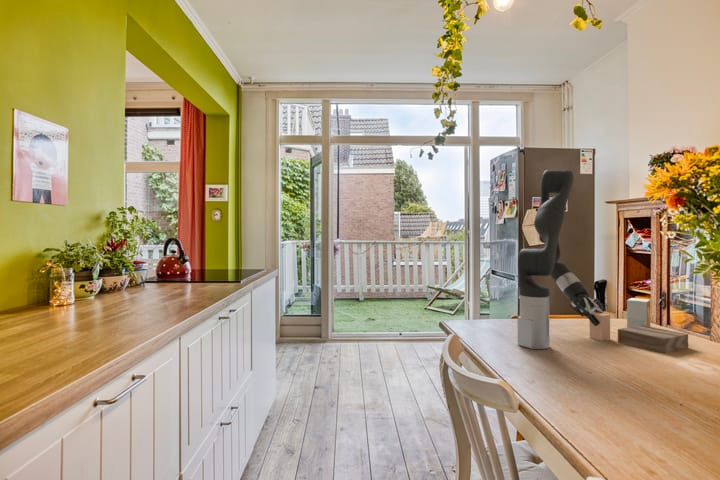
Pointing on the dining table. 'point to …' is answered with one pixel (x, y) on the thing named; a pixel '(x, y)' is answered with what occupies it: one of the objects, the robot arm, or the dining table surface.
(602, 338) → the terracotta block
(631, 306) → the small box
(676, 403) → the dining table surface
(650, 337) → the walnut block
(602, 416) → the dining table surface
